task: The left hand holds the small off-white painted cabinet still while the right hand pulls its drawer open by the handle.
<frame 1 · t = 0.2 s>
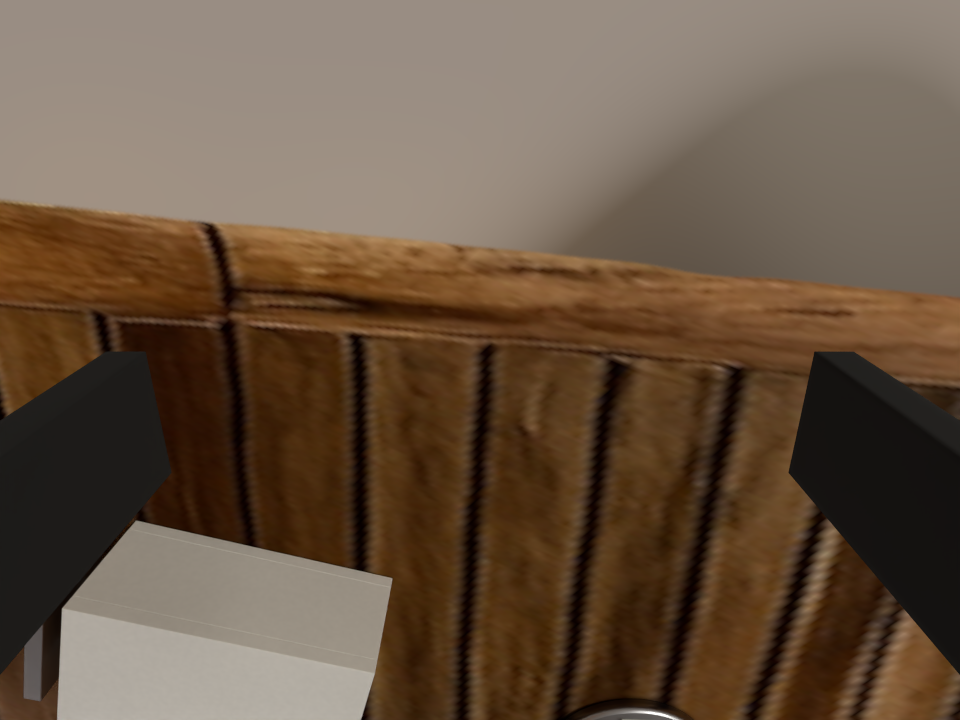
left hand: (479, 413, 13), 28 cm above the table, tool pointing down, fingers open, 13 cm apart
drawer: (148, 628, 45), point 4 cm above the table, slide at 1.7 cm
cabinet: (256, 602, 50), on the table
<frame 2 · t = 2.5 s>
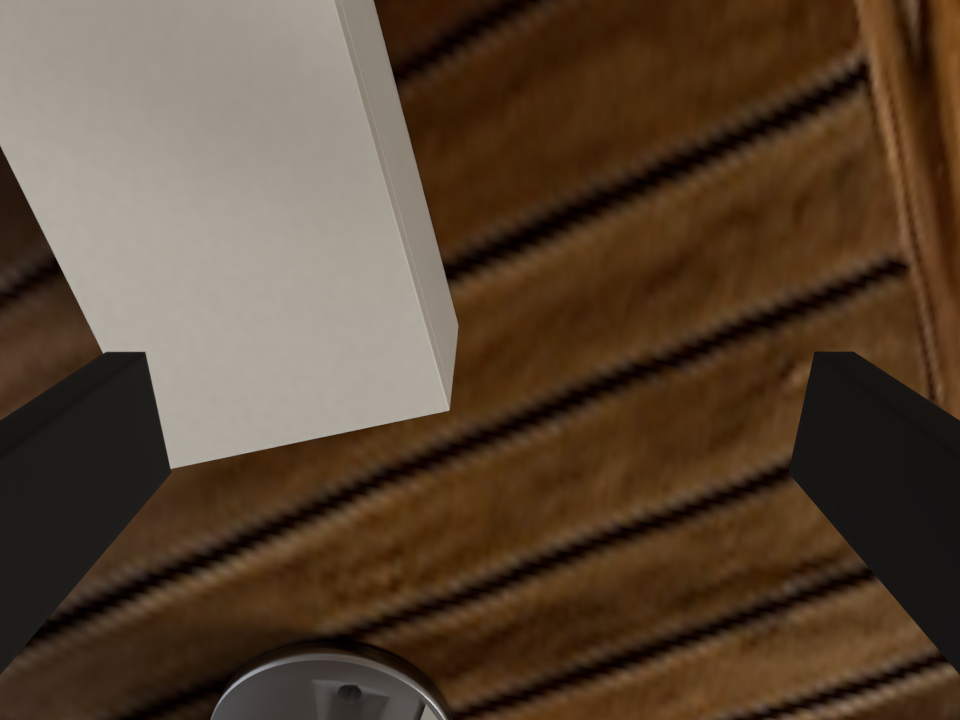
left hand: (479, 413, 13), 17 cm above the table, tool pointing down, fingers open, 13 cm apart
cabinet: (281, 139, 27), on the table
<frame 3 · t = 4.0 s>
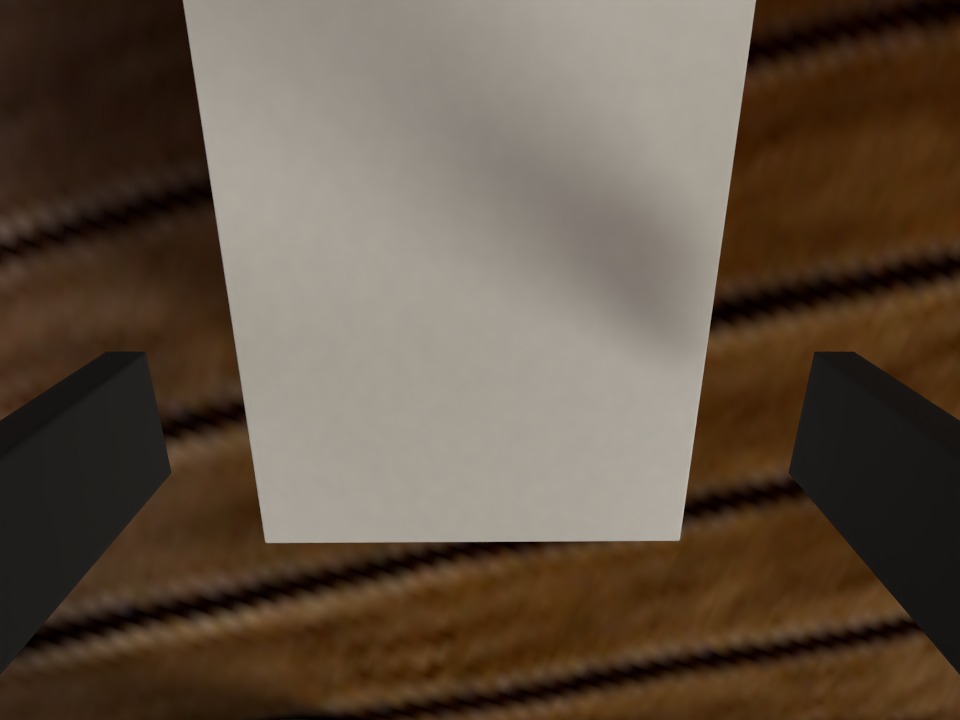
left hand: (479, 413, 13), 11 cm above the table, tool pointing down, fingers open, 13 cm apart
cabinet: (472, 127, 21), on the table
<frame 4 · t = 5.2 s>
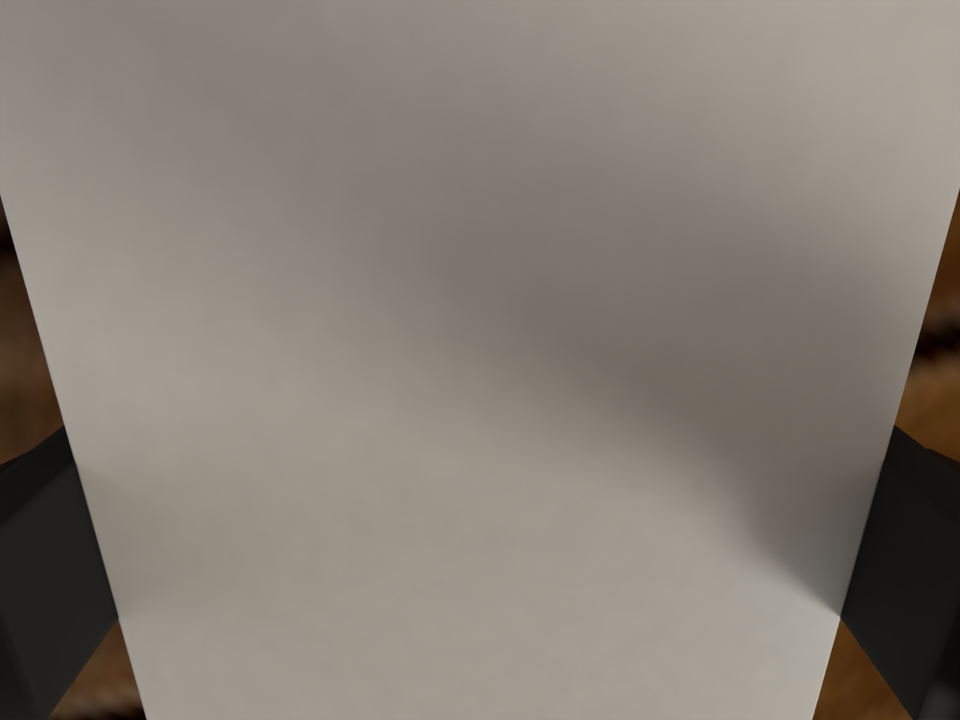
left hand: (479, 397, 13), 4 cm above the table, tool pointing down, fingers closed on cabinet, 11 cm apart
cabinet: (479, 121, 15), on the table, touching left hand
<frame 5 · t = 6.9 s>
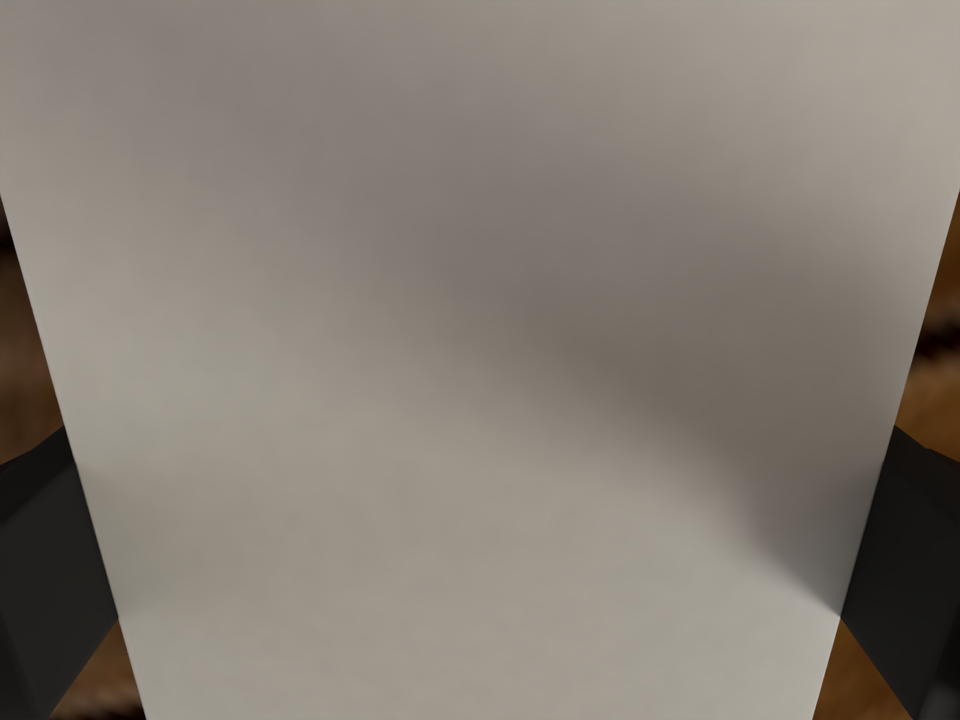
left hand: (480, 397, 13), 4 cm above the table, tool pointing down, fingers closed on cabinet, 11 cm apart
cabinet: (479, 121, 15), on the table, touching left hand
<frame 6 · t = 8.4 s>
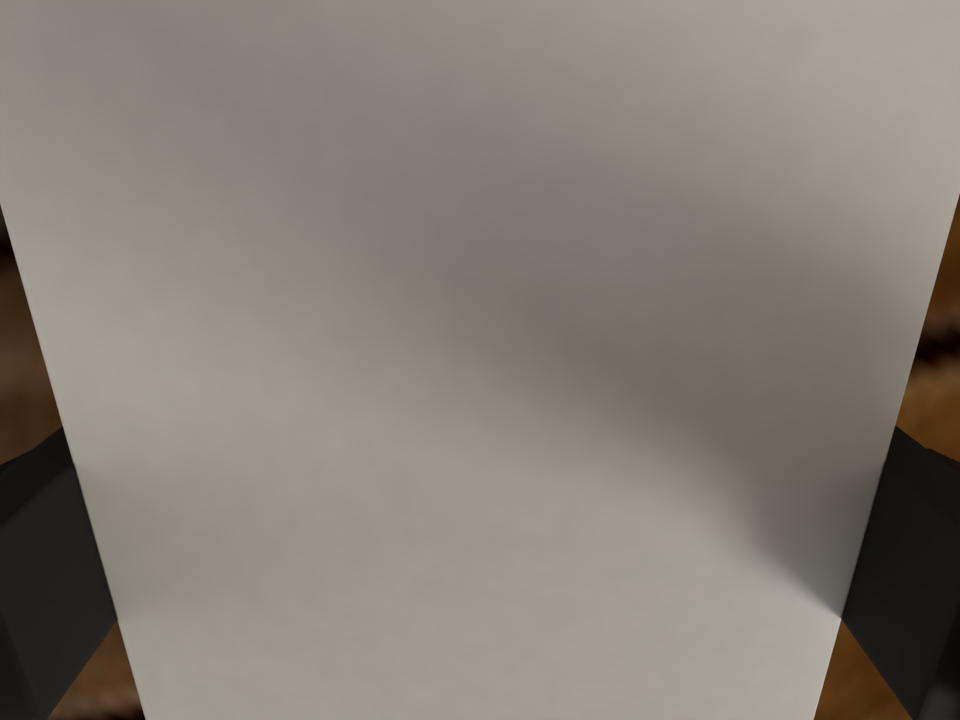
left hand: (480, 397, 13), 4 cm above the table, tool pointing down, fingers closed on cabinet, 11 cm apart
cabinet: (478, 120, 15), on the table, touching left hand
when the left hand's fingers open (4 cm above the table, at t = 10.0 s): cabinet stays where it is, on the table.
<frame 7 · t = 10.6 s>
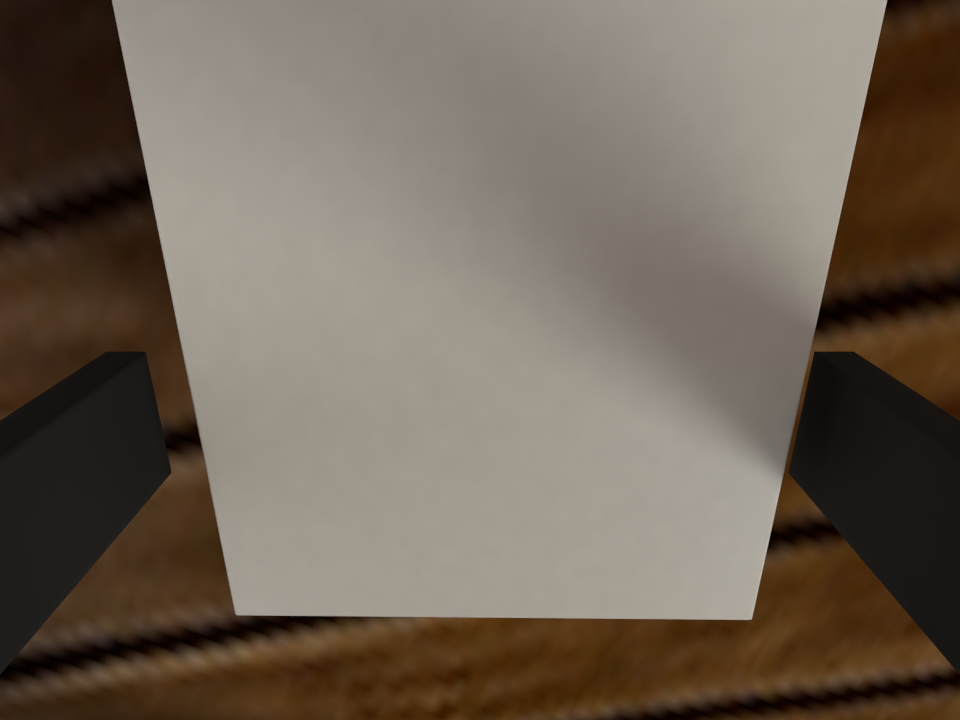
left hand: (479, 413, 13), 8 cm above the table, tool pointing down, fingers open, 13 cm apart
cabinet: (492, 100, 17), on the table
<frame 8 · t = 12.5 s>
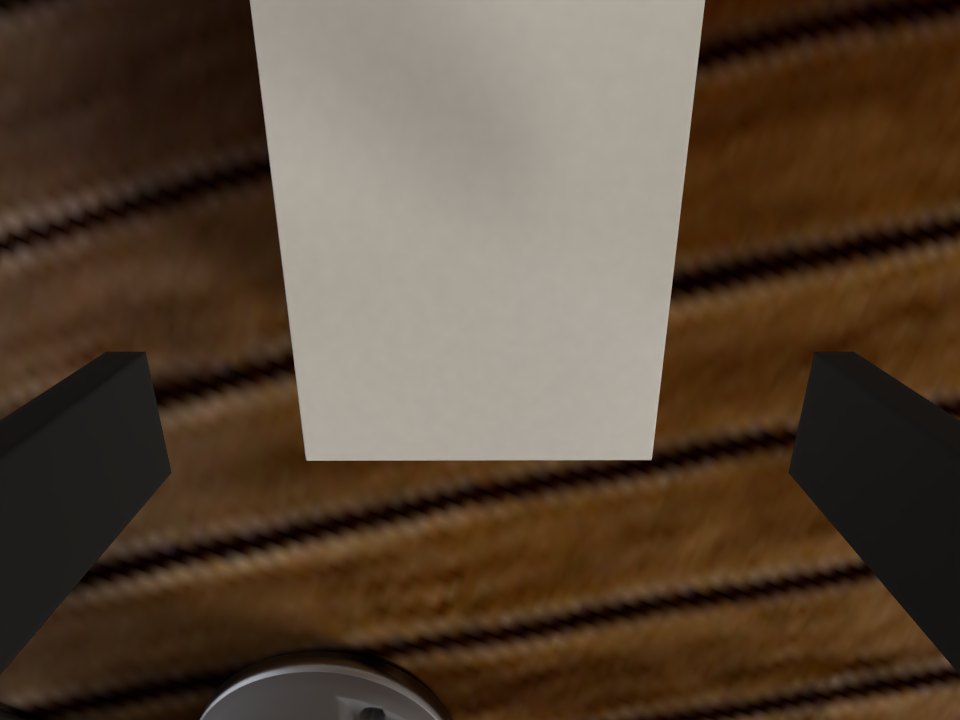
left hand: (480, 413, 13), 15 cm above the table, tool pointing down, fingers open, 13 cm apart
cabinet: (478, 115, 24), on the table
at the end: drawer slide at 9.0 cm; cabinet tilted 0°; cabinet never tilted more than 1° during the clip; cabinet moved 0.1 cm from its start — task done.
